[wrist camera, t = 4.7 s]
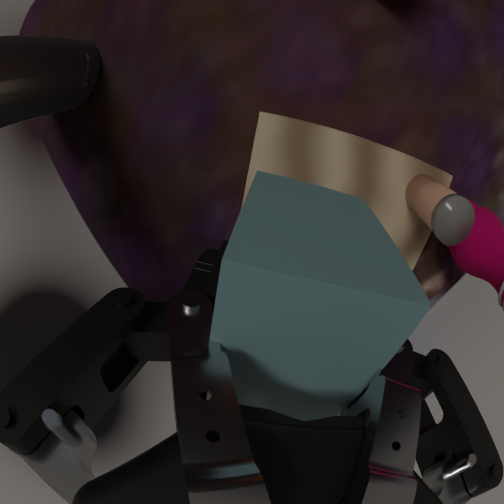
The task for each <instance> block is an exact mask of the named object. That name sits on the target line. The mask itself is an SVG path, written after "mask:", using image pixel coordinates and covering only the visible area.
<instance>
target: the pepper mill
mask: <svg viewBox="0 0 504 504" xmlns="http://www.w3.org/2000/svg"><path fill="white" fill-rule="evenodd" d="M467 200H468V201H470V200H469V199H467ZM470 203H471V204H472V206H473V208H474V213H475V219H474V224H473V227H472V230H471V232H470V233H469V235H468V236H467V237H466V239H465V240H463V241H462V242H461V243H459V244H457V245H453V246H448V245H446V246H447V247H448V248H449V249H450V252H451V256H452V258H453V260H454V262H455V263H456V264H457V265H458V266H459V267H460V268H461V269H462V270H463V271H465V272H466V273H468V274H470V275H472V276H475V277H478V278H481V279H483V280H486V281H487V282H489V283H490V284H491V285H492V286H493V287H494V288H495V290H496V291H497V293H498V302H499V305H500V306H501V307H502V308H503V310H504V227H503V225H502V223H501V221H500V220H499V218H498V217H497V216H496V215H495V214H494V213H493V212H492V211H491V210H489V209H487V208H485V207H478V206H477V205H476V204H475V203H473V202H472V201H470Z"/></svg>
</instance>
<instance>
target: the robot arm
mask: <svg viewBox="0 0 504 504" xmlns="http://www.w3.org/2000/svg"><path fill="white" fill-rule="evenodd" d="M99 67H100V61H99V54H98V51H97V49H96V48H95V46H94V45H93V44H92V43H91V42H89V41H86V40H80V39H73V38H64V37H53V36H34V35H11V36H0V128H3V127H5V126H9V125H12V124H16V123H19V122H22V121H26V120H30V119H34V118H38V117H42V116H47V115H51V114H56V113H61V112H66V111H71V110H74V109H76V108H77V107H79V106H81V105H82V104H83V103H84V102H85V101H86V100H87V98H88V97H89V96H90V94H91V92H92V91H93V89H94V87H95V84H96V81H97V79H98V74H99ZM228 242H229V240H224V242H223V244H222V246H221V249H220V250H216V249H211V248H209V249H207V250H206V251H204V252H203V253H201V255H200V257H199V259H198V261H197V263H196V265H195V267H194V269H193V271H192V273H191V275H190V277H189V279H188V281H187V283H186V285H185V287H184V289H183V291H181V292H178V293H176V294H175V295H174V296H173V297H172V298H171V299H170V301H166V302H145V300H144V297H143V295H142V294H141V293H140V292H139V291H137V290H135V289H132V288H118V289H115V290H113V291H111V292H109V293H108V294H107V295H106V296H104V297H103V298H102V299H101V300H99V301H98V302H97V303H96V304H95V305H93V306H92V307H91V308H90V309H89V310H88V311H87V312H85V313H84V314H83V315H82V316H81V317H79V318H78V319H77V320H76V321H75V322H74V323H73V324H71V325H70V326H69V327H68V328H67V329H66V330H65V331H63V332H62V333H61V334H60V335H59V336H58V337H57V338H56V339H55V340H54V341H53V342H51V343H50V344H49V345H48V346H47V347H46V348H45V349H44V350H43V351H42V352H40V353H39V354H38V355H37V356H36V357H35V358H34V359H33V360H32V361H31V362H30V363H29V364H28V365H27V366H26V367H25V368H24V369H23V370H22V371H21V372H20V373H19V374H18V375H17V376H16V377H15V378H14V379H13V380H12V381H11V382H10V383H9V384H8V385H7V386H6V387H5V388H4V389H3V390H2V391H1V392H0V442H1V443H2V444H3V445H5V446H6V447H8V448H9V449H10V450H11V451H12V452H14V453H15V454H17V455H19V456H20V457H22V458H23V459H24V460H25V461H26V462H27V463H28V465H29V466H30V467H31V468H32V469H33V470H34V471H35V472H36V473H37V474H38V475H39V476H40V477H41V478H42V479H43V480H44V481H45V482H46V483H47V484H48V485H49V486H50V487H51V488H52V489H53V490H54V491H56V492H57V493H58V494H59V495H60V496H61V497H62V498H64V499H65V500H66V501H67V502H68V503H69V504H465V503H466V502H468V501H469V500H470V499H471V498H473V497H476V496H478V495H480V494H482V493H484V492H486V491H489V490H490V489H493V488H495V487H496V486H498V485H499V483H500V482H501V480H502V476H503V465H502V462H501V459H500V457H499V454H498V452H497V449H496V447H495V444H494V442H493V439H492V437H491V435H490V433H489V430H488V428H487V426H486V424H485V422H484V420H483V418H482V416H481V413H480V411H479V410H478V407H477V405H476V403H475V402H474V400H473V398H472V396H471V394H470V392H469V391H468V388H467V387H466V385H465V383H464V381H463V379H462V378H461V376H460V374H459V372H458V371H457V369H456V367H455V366H454V364H453V363H452V361H451V359H450V358H449V356H448V355H447V354H446V353H445V352H443V351H442V350H439V349H432V350H431V351H430V352H429V353H428V354H427V356H424V355H422V354H419V353H416V352H414V351H413V348H412V345H411V343H410V341H409V340H408V339H407V340H406V341H405V343H404V344H403V345H402V346H401V348H400V349H399V350H398V351H397V353H396V354H395V355H394V356H393V357H392V359H391V360H390V361H389V362H388V363H387V365H386V366H385V367H384V368H379V369H378V370H377V371H376V372H375V373H374V375H373V376H372V377H371V381H370V384H369V385H368V386H367V387H366V388H365V389H364V390H363V391H362V392H361V393H360V394H359V395H358V396H357V397H356V398H355V399H354V400H353V401H348V402H347V403H346V404H345V405H344V406H343V407H342V410H341V413H340V415H339V416H331V417H326V418H321V419H315V420H309V421H301V420H298V419H295V418H292V417H289V416H287V415H284V414H281V413H278V412H276V411H273V410H270V409H265V408H259V407H253V406H247V405H242V404H239V402H238V398H237V394H236V390H235V386H234V382H233V377H232V373H231V369H230V364H229V360H228V357H227V354H226V353H225V352H222V351H221V348H220V343H219V342H215V341H211V340H210V333H211V326H212V319H213V313H214V306H215V299H216V293H217V287H218V280H219V274H220V268H221V262H222V258H223V255H224V253H225V250H226V247H227V245H228ZM147 361H171V376H172V388H173V399H174V411H175V420H176V429H177V432H176V433H174V434H173V435H171V436H170V437H168V438H167V439H165V440H163V441H162V442H160V443H159V444H157V445H155V446H154V447H152V448H150V449H149V450H147V451H145V452H144V453H142V454H140V455H138V456H137V457H135V458H133V459H132V460H130V461H128V462H126V463H124V464H122V465H120V466H119V467H117V468H115V469H113V470H111V471H109V472H107V473H105V474H103V475H101V476H99V477H97V478H95V477H94V475H93V473H92V469H91V459H92V457H93V455H94V453H95V451H96V446H97V444H96V438H95V436H94V434H93V432H92V431H91V429H92V428H93V427H94V425H95V424H96V423H97V422H98V421H99V419H100V418H101V417H102V416H103V415H104V413H105V412H106V411H107V410H108V409H109V407H110V406H111V405H112V404H113V402H114V401H115V400H116V399H117V397H118V396H119V395H120V394H121V393H122V392H123V390H124V389H125V388H126V387H127V385H128V384H129V383H130V382H131V380H132V379H133V378H134V377H135V376H136V375H137V373H138V372H139V371H140V370H141V368H142V367H143V366H144V365H145V364H146V363H147ZM432 392H434V394H435V396H436V398H437V400H438V402H439V404H440V406H441V408H442V410H443V413H444V414H443V419H442V421H441V422H440V423H439V424H436V423H435V421H434V419H433V416H432V414H431V412H430V410H429V408H428V406H427V403H426V401H425V398H426V397H427V396H428V395H430V394H431V393H432ZM415 458H416V461H417V464H418V466H419V469H420V472H421V475H422V479H421V478H420V477H419V476H418V474H417V473H416V472H415V471H414V470H413V469H414V464H415Z"/></svg>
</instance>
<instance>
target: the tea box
mask: <svg viewBox="0 0 504 504" xmlns="http://www.w3.org/2000/svg"><path fill="white" fill-rule="evenodd" d="M430 307H431V303H430V301H429V300H428V298H427V296H426V294H425V292H424V291H423V289H422V287H421V285H420V284H419V282H418V280H417V278H416V277H415V275H414V273H413V272H412V270H411V268H410V267H409V265H408V263H407V262H406V260H405V259H404V257H403V255H402V254H401V252H400V251H399V249H398V248H397V246H396V245H395V243H394V242H393V240H392V239H391V237H390V236H389V234H388V233H387V231H386V230H385V228H384V227H383V225H382V224H381V223H380V221H379V220H378V218H377V217H376V215H375V214H374V213H373V211H372V210H371V209H370V207H369V206H368V205H367V203H366V202H365V201H364V199H362V198H359V197H356V196H352V195H349V194H346V193H342V192H339V191H336V190H332V189H329V188H325V187H322V186H318V185H314V184H311V183H307V182H303V181H299V180H296V179H292V178H288V177H284V176H279V175H275V174H271V173H267V172H262V171H258V170H257V172H256V174H255V177H254V179H253V182H252V184H251V187H250V189H249V191H248V194H247V196H246V199H245V201H244V204H243V206H242V209H241V212H240V214H239V217H238V219H237V222H236V224H235V227H234V229H233V232H232V234H231V237H230V240H229V242H228V245H227V247H226V250H225V253H224V255H223V258H222V262H221V268H220V274H219V280H218V287H217V293H216V299H215V306H214V313H213V319H212V326H211V333H210V340H211V341H215V342H219V343H220V348H221V351H222V352H225V353H226V354H227V357H228V360H229V364H230V369H231V373H232V377H233V382H234V386H235V390H236V394H237V398H238V402H239V404H242V405H247V406H253V407H259V408H265V409H270V410H273V411H276V412H278V413H281V414H284V415H287V416H289V417H292V418H295V419H298V420H301V421H309V420H315V419H321V418H326V417H331V416H337V415H338V414H340V413H341V410H342V407H343V406H344V405H345V404H346V403H347V402H348V401H353V400H354V399H355V398H356V397H357V396H358V395H359V394H360V393H361V392H362V391H363V390H364V389H365V388H366V387H367V386H368V385H369V384H370V381H371V377H372V376H373V375H374V373H375V372H376V371H377V370H378V369H379V368H384V367H385V366H386V365H387V363H388V362H389V361H390V360H391V359H392V357H393V356H394V355H395V354H396V353H397V351H398V350H399V349H400V348H401V346H402V345H403V344H404V343H405V341H406V340H407V339H408V337H409V336H410V335H411V333H412V332H413V331H414V329H415V328H416V327H417V325H418V324H419V322H420V321H421V320H422V318H423V317H424V315H425V314H426V312H427V311H428V310H429V308H430Z"/></svg>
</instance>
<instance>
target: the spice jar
mask: <svg viewBox="0 0 504 504" xmlns="http://www.w3.org/2000/svg"><path fill="white" fill-rule="evenodd" d="M405 197H406V202H407V204H408V206H409V207H410V208H411V209H412V210H413V211H414V212H415V213H416V214H417V215H418V216H419V217H420V218H421V219H422V220H423V221H424V222H425V223H426V225H427V226H428V227H429V228H430V229H431V230H432V231H433V233H434V235H435V236H436V237H437V238H438V239H439V241H440V242H441V243H443V244H445V245H448V246H453V245H457V244H459V243H461V242H462V241H463V240H465V239H466V237H467V236H468V235H469V233H470V232H471V230H472V227H473V224H474V219H475V213H474V208H473V206H472V204H471V203H470V201H468V200H467V199H466V198H464V197H463V196H461V195H459V194H457V193H455V192H454V191H452V190H451V189H449V188H448V187H447V186H445V185H443V184H442V183H440V182H439V181H437V180H436V179H434V178H433V177H431V176H429V175H427V174H420V175H417V176H415V177H414V178H412V179H411V181H410V182H409V183H408V185H407V188H406V193H405Z"/></svg>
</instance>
